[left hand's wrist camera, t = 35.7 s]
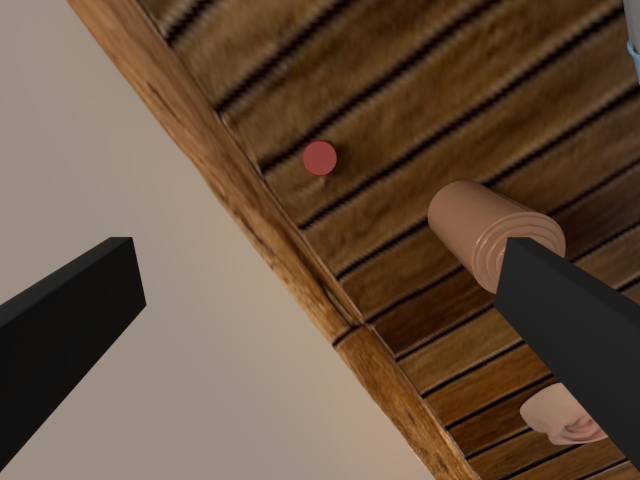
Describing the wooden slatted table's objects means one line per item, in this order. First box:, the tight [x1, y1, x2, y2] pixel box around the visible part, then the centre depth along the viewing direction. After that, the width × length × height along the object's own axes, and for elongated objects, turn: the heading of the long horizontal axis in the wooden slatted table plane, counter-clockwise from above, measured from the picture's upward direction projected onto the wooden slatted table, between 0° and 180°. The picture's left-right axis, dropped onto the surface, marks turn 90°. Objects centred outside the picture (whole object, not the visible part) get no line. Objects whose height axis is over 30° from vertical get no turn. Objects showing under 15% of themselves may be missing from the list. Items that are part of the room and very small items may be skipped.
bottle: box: [428, 180, 565, 294], centre depth 36 cm, size 8×8×18 cm
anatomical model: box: [520, 383, 608, 445], centre depth 54 cm, size 13×4×12 cm
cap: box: [303, 140, 337, 175], centre depth 41 cm, size 4×4×2 cm
